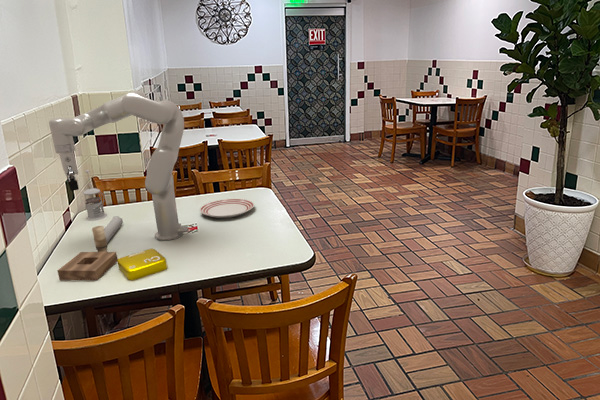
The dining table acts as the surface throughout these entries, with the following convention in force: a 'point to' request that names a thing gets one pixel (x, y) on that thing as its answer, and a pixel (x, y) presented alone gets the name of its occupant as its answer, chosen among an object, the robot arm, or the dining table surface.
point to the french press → (94, 213)
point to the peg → (99, 238)
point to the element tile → (142, 264)
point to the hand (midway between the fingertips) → (73, 187)
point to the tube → (112, 227)
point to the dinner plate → (226, 208)
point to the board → (87, 266)
